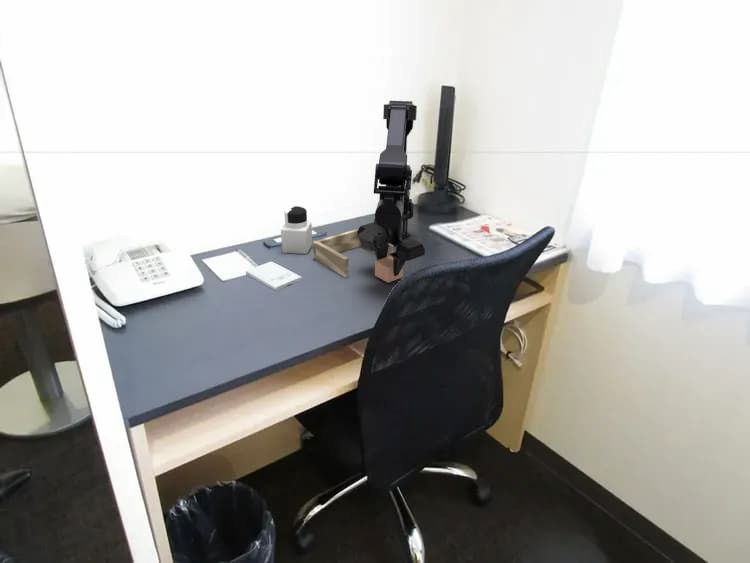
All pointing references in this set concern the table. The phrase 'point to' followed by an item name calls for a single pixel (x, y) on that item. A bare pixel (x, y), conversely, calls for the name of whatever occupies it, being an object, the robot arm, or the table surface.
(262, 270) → the external hard drive
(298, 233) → the medicine bottle
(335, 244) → the open wooden frame
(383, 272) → the terracotta block
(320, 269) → the table surface
